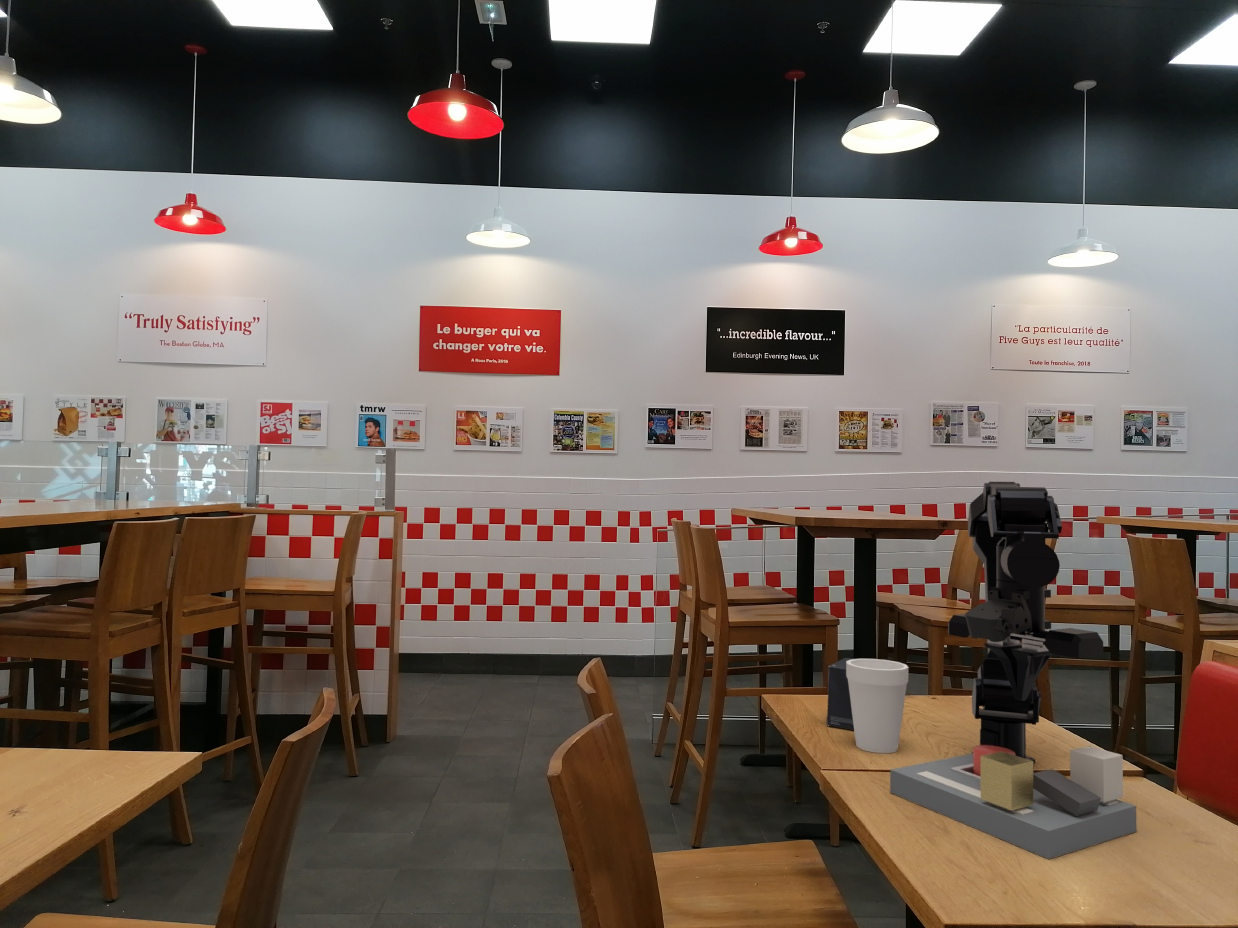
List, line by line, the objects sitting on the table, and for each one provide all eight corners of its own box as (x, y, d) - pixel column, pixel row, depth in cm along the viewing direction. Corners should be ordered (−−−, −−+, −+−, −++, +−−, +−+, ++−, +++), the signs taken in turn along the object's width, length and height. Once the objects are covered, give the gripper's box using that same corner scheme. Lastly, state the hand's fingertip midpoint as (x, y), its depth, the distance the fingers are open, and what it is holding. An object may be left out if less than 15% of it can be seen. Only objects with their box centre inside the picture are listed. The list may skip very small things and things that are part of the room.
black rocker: (1049, 780, 96) (1052, 768, 96) (1097, 809, 91) (1100, 797, 91) (1028, 785, 94) (1032, 773, 94) (1076, 815, 89) (1080, 803, 89)
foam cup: (912, 758, 119) (912, 671, 120) (848, 753, 121) (849, 668, 122) (902, 740, 128) (902, 660, 129) (844, 736, 130) (844, 657, 131)
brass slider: (1002, 793, 95) (1002, 751, 95) (1033, 804, 92) (1033, 760, 92) (980, 798, 93) (980, 755, 93) (1011, 810, 90) (1011, 765, 90)
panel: (974, 774, 112) (974, 750, 113) (1136, 831, 93) (1136, 802, 93) (890, 792, 104) (890, 767, 105) (1048, 859, 85) (1048, 828, 85)
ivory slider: (1089, 786, 98) (1089, 745, 98) (1123, 796, 95) (1122, 754, 95) (1070, 791, 96) (1070, 749, 97) (1103, 802, 93) (1103, 759, 93)
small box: (863, 733, 132) (864, 670, 133) (825, 726, 136) (826, 665, 136) (879, 719, 141) (879, 660, 142) (843, 713, 145) (843, 656, 145)
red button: (989, 785, 106) (989, 743, 107) (1024, 798, 102) (1023, 753, 102) (965, 791, 104) (965, 747, 104) (999, 804, 100) (999, 758, 100)
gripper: (921, 576, 109) (920, 690, 108) (1049, 590, 92) (1050, 724, 91) (974, 574, 114) (974, 682, 113) (1105, 587, 97) (1106, 714, 97)
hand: (1020, 699), depth 103 cm, fingers closed
